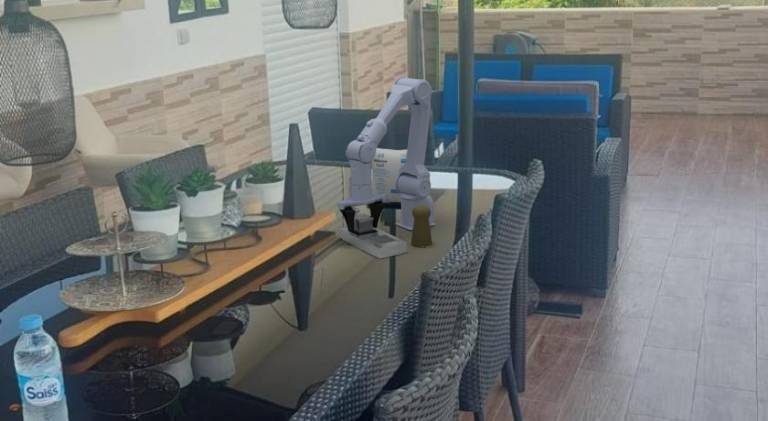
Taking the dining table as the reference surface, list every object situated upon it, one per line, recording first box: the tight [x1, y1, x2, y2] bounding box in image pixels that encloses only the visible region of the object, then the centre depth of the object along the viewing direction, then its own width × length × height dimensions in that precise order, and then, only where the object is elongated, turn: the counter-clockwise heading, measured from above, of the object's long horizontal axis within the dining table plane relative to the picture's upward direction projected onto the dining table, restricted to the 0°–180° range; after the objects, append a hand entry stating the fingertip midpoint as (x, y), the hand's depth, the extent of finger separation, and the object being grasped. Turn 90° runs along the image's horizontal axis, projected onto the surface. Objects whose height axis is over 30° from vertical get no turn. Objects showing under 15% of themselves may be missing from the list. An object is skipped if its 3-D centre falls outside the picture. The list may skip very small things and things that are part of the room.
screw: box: [348, 176, 361, 215], centre depth 281 cm, size 13×5×5 cm
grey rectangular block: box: [354, 212, 373, 236], centre depth 258 cm, size 5×5×7 cm
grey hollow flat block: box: [338, 226, 408, 260], centre depth 255 cm, size 9×22×3 cm, turn 32°
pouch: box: [371, 145, 428, 204], centre depth 291 cm, size 8×19×20 cm, turn 74°
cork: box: [410, 205, 433, 248], centre depth 254 cm, size 6×6×11 cm
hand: (362, 229), depth 258 cm, fingers open, 7 cm apart
